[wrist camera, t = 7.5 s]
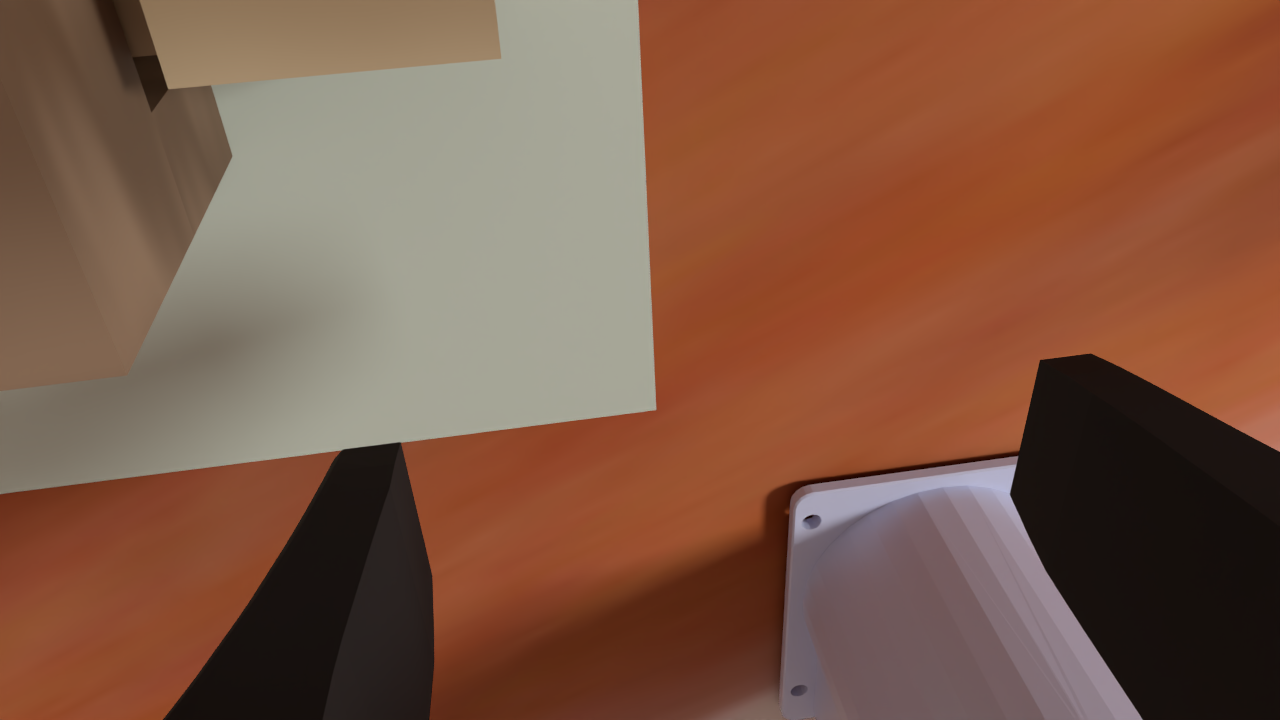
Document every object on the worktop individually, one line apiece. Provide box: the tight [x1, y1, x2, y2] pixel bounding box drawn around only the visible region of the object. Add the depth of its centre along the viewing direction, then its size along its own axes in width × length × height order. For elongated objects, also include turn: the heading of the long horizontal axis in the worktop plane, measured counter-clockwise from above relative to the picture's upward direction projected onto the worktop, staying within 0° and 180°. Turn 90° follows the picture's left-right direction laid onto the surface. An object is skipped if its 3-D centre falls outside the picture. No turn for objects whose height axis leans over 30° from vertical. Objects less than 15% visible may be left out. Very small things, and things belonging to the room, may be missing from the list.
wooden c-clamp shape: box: [0, 0, 233, 391], centre depth 13 cm, size 7×2×7 cm, turn 3°
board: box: [0, 0, 656, 494], centre depth 18 cm, size 14×16×1 cm
